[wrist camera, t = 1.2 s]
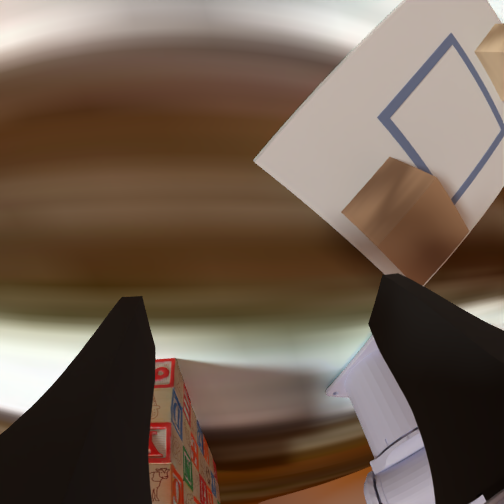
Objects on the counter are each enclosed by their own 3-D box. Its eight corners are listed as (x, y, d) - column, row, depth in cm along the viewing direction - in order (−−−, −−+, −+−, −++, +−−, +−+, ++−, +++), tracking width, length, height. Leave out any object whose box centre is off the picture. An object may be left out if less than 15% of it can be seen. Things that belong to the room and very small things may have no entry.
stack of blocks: (217, 463, 32) (227, 548, 21) (169, 465, 32) (171, 548, 21) (175, 355, 22) (172, 511, 11) (101, 359, 22) (71, 500, 11)
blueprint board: (449, -41, 10) (455, -43, 9) (539, 115, 16) (545, 117, 15) (253, 160, 16) (254, 162, 16) (406, 295, 22) (411, 300, 22)
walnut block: (389, 156, 16) (436, 177, 12) (425, 203, 18) (469, 231, 14) (341, 211, 18) (376, 246, 14) (382, 252, 19) (418, 290, 15)
